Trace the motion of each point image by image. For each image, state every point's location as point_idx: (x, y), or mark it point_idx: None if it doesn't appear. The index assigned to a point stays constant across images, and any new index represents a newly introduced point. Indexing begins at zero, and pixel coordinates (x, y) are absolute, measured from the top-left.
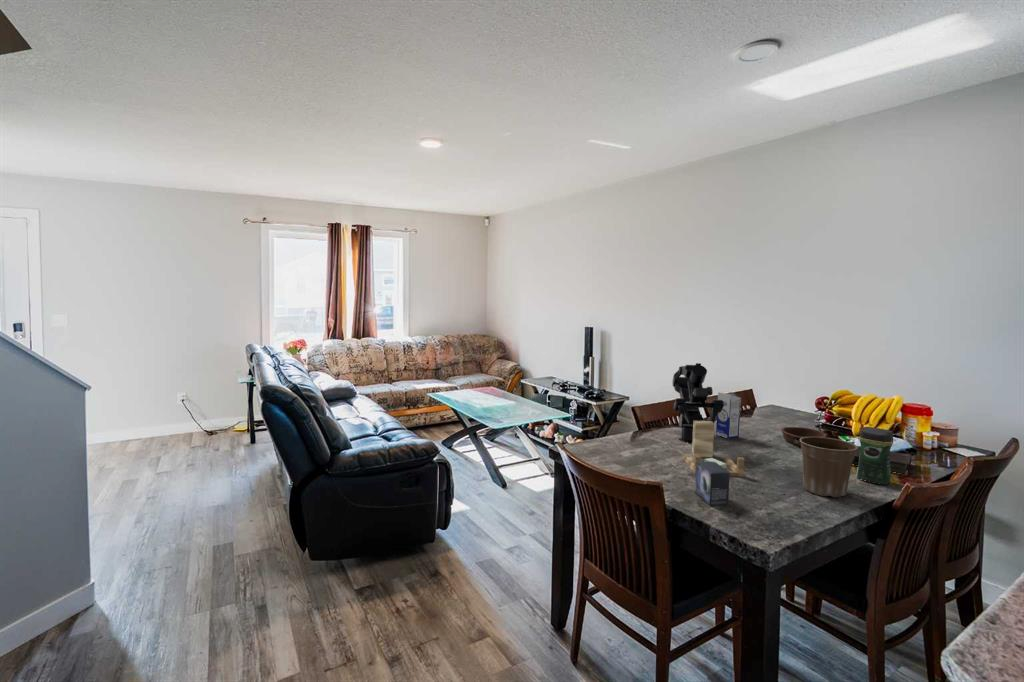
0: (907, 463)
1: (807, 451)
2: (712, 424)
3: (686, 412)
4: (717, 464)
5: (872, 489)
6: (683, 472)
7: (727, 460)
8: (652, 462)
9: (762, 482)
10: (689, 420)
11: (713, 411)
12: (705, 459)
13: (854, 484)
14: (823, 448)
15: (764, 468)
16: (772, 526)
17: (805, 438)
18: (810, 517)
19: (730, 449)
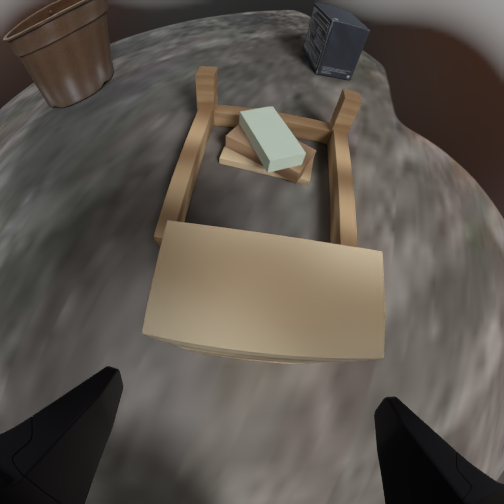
0: None
1: (106, 2)
2: (189, 229)
3: (462, 469)
4: (329, 13)
5: (7, 112)
6: (366, 167)
7: (185, 192)
8: (443, 259)
9: (165, 101)
10: (399, 406)
11: (21, 469)
12: (303, 149)
13: (5, 126)
14: None
15: (71, 194)
16: (266, 21)
17: (48, 19)
18: (196, 27)
19: None
